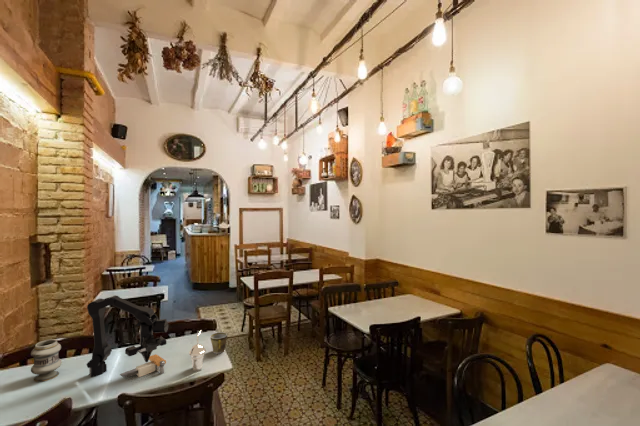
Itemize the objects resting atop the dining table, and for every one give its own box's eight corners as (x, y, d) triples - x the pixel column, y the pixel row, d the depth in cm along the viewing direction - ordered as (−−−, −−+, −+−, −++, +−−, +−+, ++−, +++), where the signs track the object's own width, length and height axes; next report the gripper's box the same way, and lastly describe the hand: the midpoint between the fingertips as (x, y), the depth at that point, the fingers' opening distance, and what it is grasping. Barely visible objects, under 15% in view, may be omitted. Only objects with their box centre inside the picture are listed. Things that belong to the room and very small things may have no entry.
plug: (128, 381, 153) (128, 373, 153) (125, 378, 155) (125, 370, 155) (155, 370, 163) (155, 363, 163) (152, 368, 165) (152, 360, 165)
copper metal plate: (159, 367, 158) (159, 364, 158) (148, 359, 167) (148, 356, 167) (167, 364, 161) (167, 361, 161) (155, 356, 170) (155, 353, 170)
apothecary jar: (24, 384, 151) (24, 348, 151) (39, 372, 163) (39, 338, 163) (53, 381, 154) (53, 345, 154) (66, 369, 166) (66, 336, 166)
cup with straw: (185, 372, 163) (185, 335, 163) (198, 364, 172) (198, 329, 172) (197, 375, 160) (197, 337, 160) (210, 367, 168) (210, 331, 168)
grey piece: (133, 388, 148) (133, 378, 148) (119, 376, 159) (119, 366, 159) (166, 374, 161) (166, 365, 161) (151, 364, 172) (151, 355, 172)
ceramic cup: (209, 349, 190) (209, 333, 190) (226, 346, 194) (226, 331, 194) (211, 358, 178) (211, 341, 178) (229, 355, 182) (229, 338, 182)
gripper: (133, 343, 151) (133, 374, 151) (171, 331, 165) (171, 360, 165) (124, 337, 158) (124, 367, 158) (161, 326, 172) (161, 354, 172)
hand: (146, 362), depth 163 cm, fingers closed
